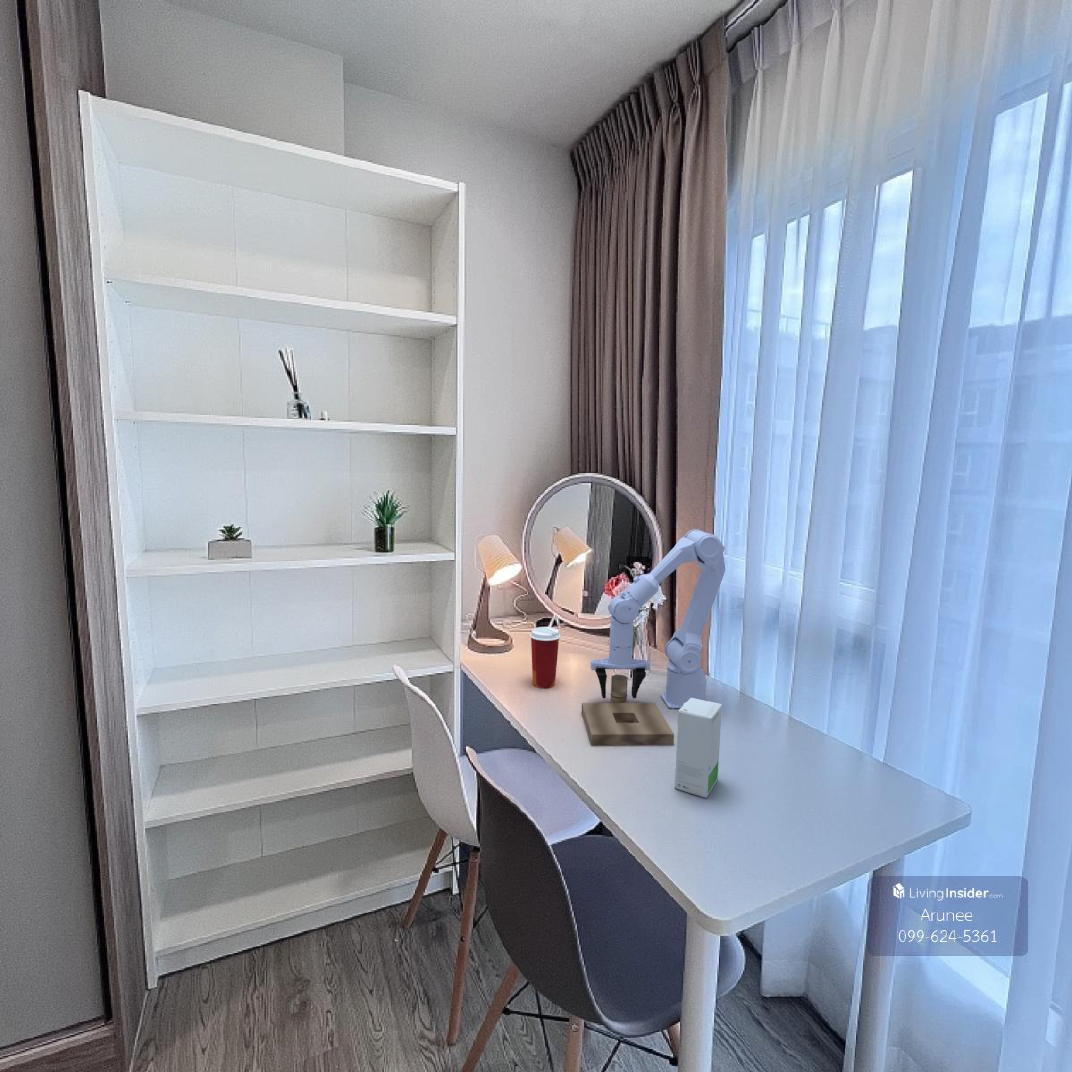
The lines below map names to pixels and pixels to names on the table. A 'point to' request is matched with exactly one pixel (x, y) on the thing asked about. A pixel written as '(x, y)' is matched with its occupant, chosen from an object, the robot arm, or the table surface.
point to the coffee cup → (544, 656)
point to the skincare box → (698, 746)
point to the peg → (619, 689)
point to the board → (626, 724)
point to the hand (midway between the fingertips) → (618, 696)
